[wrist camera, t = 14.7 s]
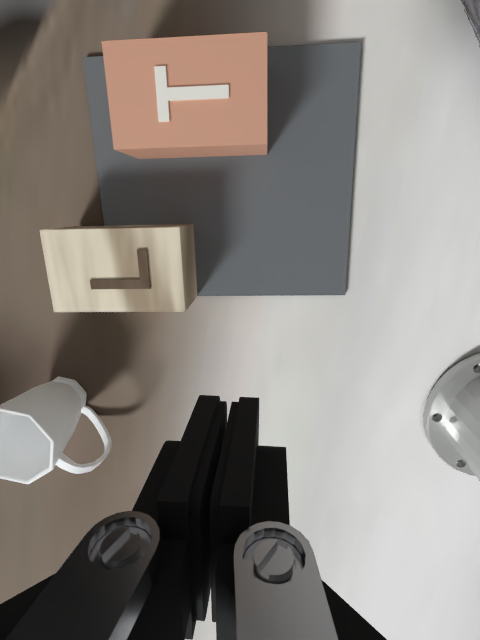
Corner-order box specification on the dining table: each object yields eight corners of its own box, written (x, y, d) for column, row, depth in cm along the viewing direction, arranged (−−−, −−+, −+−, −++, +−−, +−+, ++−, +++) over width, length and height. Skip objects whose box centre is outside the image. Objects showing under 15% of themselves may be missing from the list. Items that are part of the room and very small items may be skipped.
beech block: (178, 227, 25) (38, 230, 26) (184, 312, 27) (53, 312, 28) (193, 223, 30) (74, 226, 31) (197, 295, 32) (85, 296, 32)
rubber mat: (359, 44, 26) (361, 41, 26) (344, 293, 31) (345, 295, 31) (85, 59, 27) (82, 57, 27) (114, 295, 33) (113, 296, 32)
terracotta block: (267, 30, 21) (100, 40, 22) (267, 143, 23) (112, 149, 24) (267, 63, 26) (130, 70, 27) (267, 154, 28) (139, 158, 29)
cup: (48, 349, 35) (-14, 390, 27) (139, 405, 36) (105, 459, 28) (20, 403, 37) (-46, 455, 29) (107, 454, 38) (66, 517, 30)
